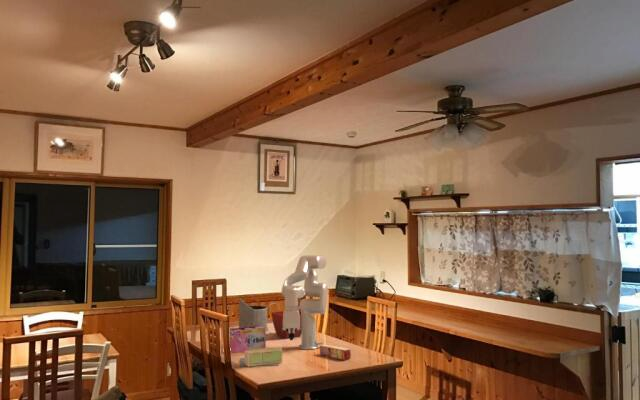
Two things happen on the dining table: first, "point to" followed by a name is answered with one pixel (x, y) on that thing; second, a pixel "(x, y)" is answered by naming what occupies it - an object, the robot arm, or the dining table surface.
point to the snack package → (335, 352)
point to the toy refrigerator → (263, 356)
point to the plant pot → (278, 325)
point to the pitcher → (253, 315)
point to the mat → (242, 364)
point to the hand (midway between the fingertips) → (291, 339)
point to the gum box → (247, 338)
